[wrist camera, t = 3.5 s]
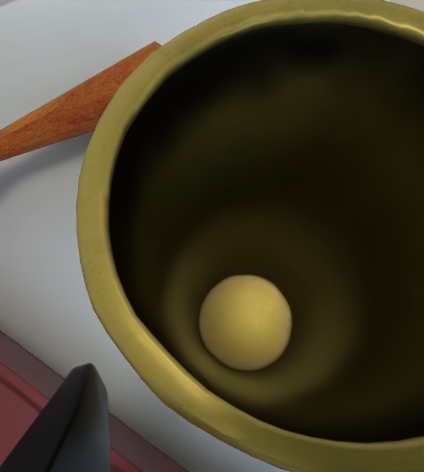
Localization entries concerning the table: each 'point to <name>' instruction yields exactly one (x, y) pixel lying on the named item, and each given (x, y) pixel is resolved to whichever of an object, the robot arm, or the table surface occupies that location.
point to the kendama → (70, 109)
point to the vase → (271, 231)
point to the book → (37, 396)
